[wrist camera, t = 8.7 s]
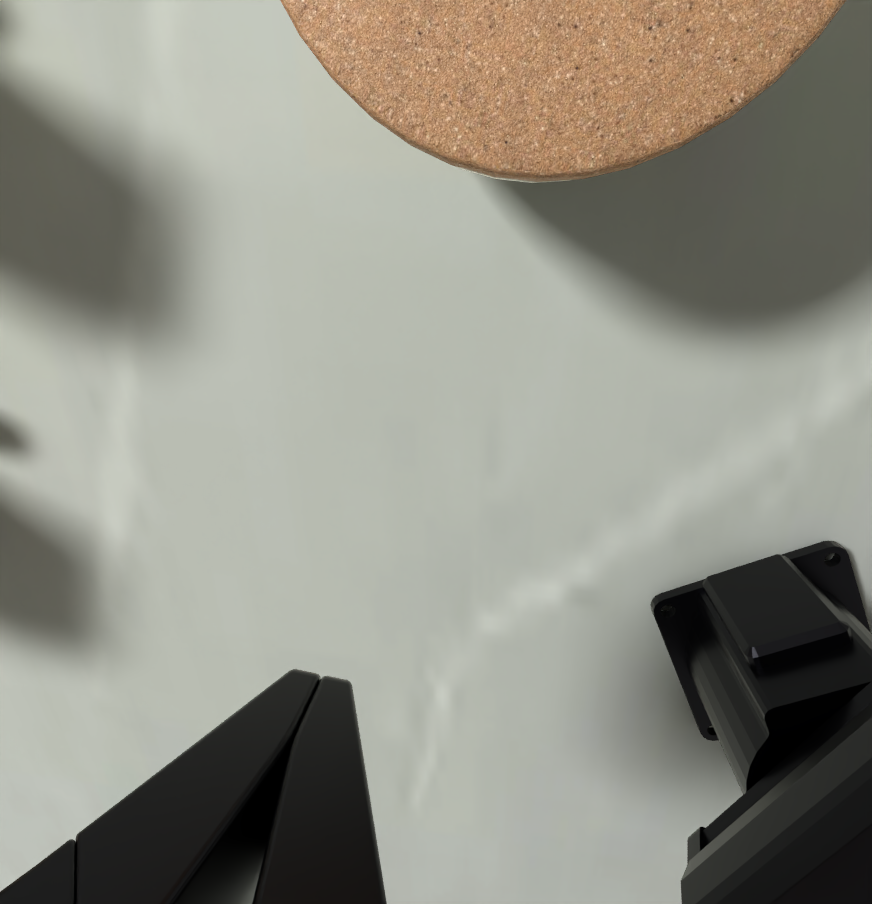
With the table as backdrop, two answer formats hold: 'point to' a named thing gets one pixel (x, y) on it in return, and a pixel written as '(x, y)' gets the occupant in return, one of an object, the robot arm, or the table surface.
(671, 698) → the table surface
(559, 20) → the lidded jar
